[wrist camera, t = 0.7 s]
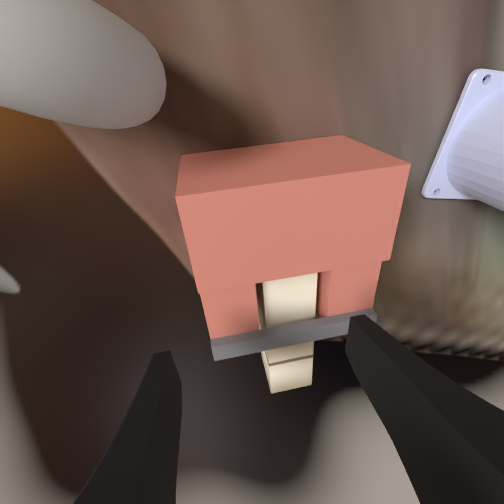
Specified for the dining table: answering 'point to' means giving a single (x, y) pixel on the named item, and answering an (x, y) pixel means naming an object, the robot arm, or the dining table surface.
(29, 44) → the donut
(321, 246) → the dispenser
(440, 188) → the robot arm
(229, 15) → the dining table surface
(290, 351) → the cream block
